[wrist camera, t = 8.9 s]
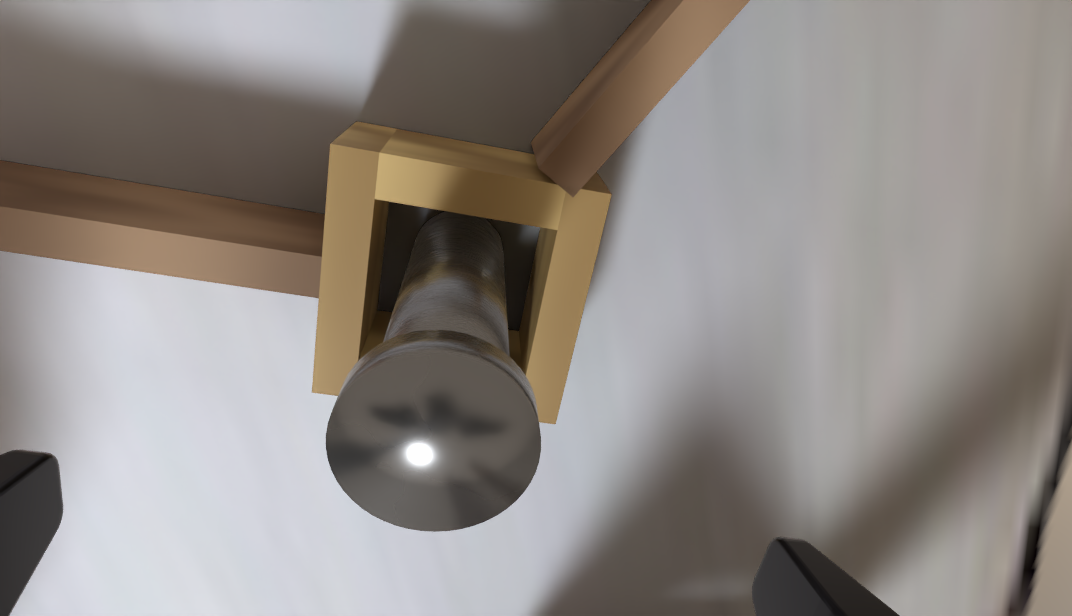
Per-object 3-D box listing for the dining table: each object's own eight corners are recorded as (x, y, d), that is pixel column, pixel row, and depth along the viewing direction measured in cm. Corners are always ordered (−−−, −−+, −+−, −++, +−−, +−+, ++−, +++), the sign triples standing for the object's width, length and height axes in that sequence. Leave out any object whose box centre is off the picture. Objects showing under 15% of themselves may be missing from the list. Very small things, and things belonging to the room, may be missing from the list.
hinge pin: (392, 298, 19) (318, 519, 10) (406, 185, 17) (334, 339, 9) (506, 315, 19) (520, 541, 11) (528, 206, 18) (560, 371, 10)
